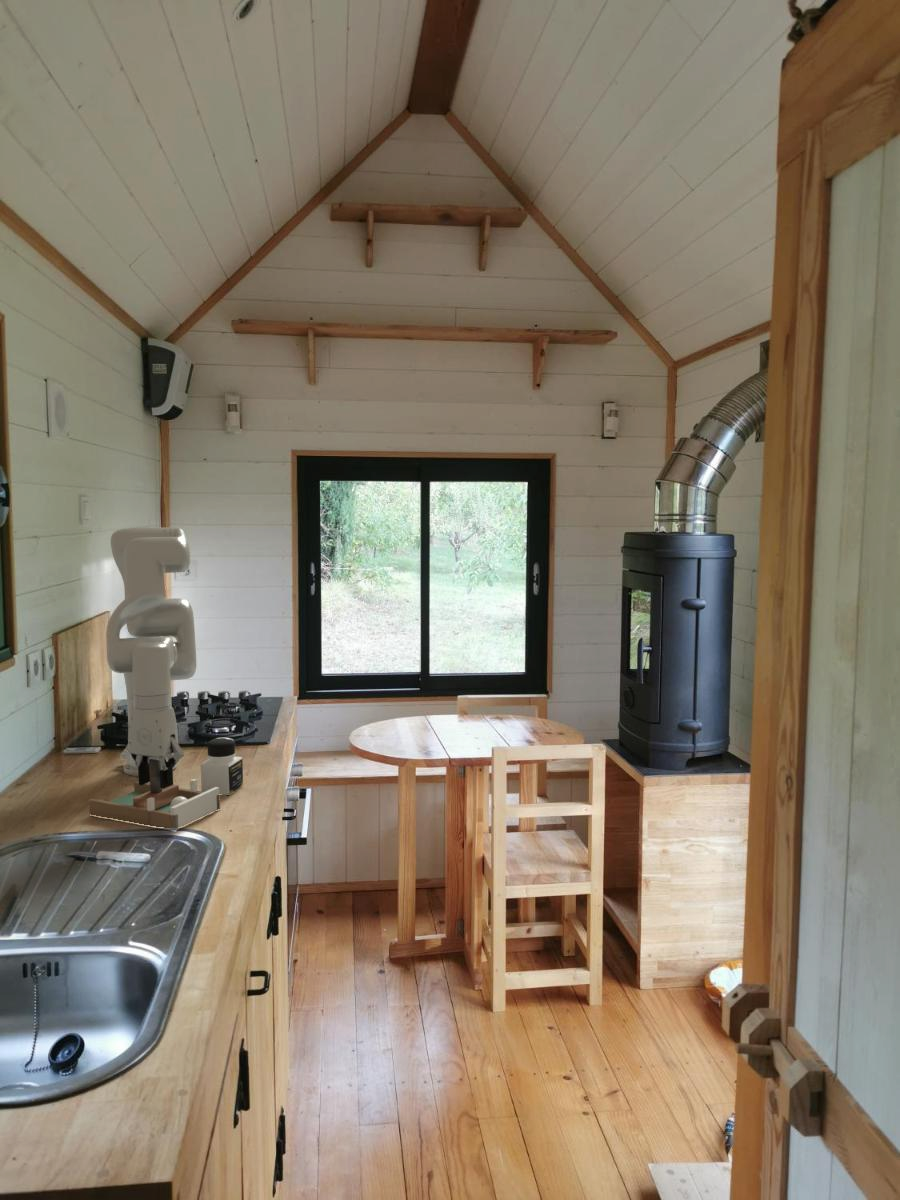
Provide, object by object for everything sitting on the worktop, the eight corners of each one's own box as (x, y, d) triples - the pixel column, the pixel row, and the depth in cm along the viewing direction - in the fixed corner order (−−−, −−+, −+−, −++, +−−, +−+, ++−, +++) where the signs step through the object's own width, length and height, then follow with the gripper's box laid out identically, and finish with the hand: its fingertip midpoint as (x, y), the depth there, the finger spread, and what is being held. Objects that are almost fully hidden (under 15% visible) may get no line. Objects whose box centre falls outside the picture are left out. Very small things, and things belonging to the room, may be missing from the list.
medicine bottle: (230, 796, 197) (228, 744, 196) (201, 794, 198) (199, 742, 197) (243, 786, 204) (242, 736, 203) (215, 784, 205) (213, 734, 204)
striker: (133, 812, 182) (131, 765, 180) (168, 796, 191) (166, 752, 190) (144, 814, 180) (142, 767, 179) (179, 798, 190) (177, 754, 189)
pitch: (89, 816, 184) (88, 788, 184) (137, 796, 197) (136, 770, 196) (175, 832, 175) (174, 803, 174) (219, 810, 188) (219, 783, 187)
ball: (183, 816, 180) (169, 820, 182) (196, 810, 184) (182, 814, 186) (177, 797, 181) (163, 801, 182) (190, 792, 184) (176, 796, 186)
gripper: (108, 701, 183) (112, 785, 185) (172, 708, 176) (175, 795, 178) (134, 694, 190) (138, 775, 192) (196, 701, 183) (199, 784, 185)
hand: (156, 784), depth 185 cm, fingers open, 5 cm apart
